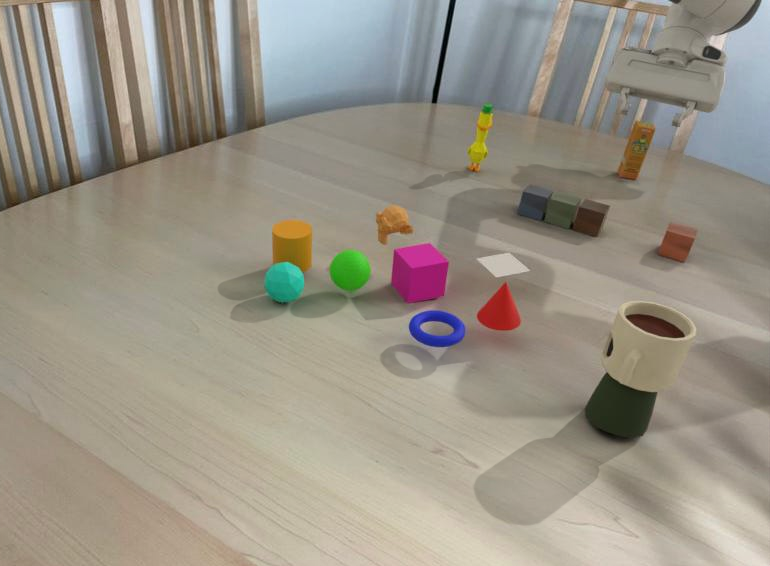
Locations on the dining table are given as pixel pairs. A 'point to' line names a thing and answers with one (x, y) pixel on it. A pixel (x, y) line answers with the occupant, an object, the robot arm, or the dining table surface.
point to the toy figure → (481, 138)
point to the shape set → (409, 275)
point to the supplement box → (636, 149)
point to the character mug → (638, 366)
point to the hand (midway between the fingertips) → (649, 119)
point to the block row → (594, 218)
